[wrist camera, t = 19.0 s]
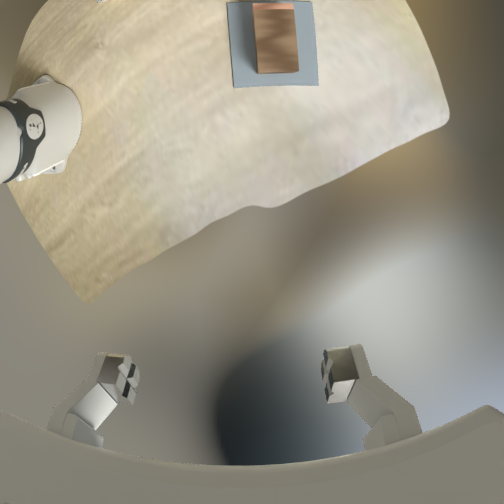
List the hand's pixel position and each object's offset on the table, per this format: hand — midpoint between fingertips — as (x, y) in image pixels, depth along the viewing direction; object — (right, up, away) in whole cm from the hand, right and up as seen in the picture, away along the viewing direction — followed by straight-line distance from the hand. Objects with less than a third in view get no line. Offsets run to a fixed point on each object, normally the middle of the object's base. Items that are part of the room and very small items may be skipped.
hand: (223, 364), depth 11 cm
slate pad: (+4, +34, +20) cm, 39 cm away
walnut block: (+4, +28, +20) cm, 35 cm away
